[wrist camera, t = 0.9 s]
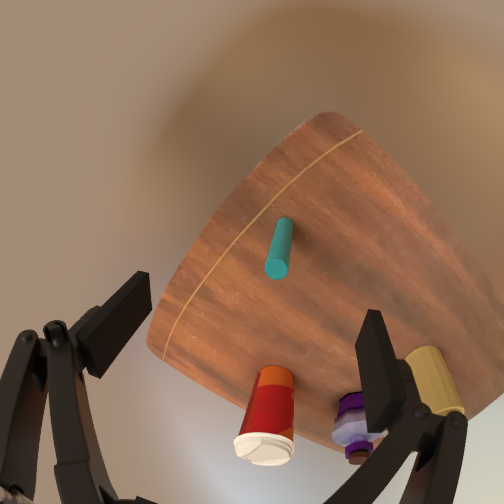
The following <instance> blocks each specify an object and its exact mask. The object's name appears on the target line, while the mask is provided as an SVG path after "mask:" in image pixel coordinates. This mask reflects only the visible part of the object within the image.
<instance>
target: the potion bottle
mask: <svg viewBox="0 0 504 504" xmlns="http://www.w3.org/2000/svg"><path fill="white" fill-rule="evenodd" d="M339 401H340V405H339V410H338V414H337V418H335V421H334V425H333V429H332V440H333V443H336V444H339V445H342V446H346V447H345V455H346V459H349V463H350V464H353V465H362V464H363V463H364V462H365V460H366V459H367V458H368V457H369V456H370V455H371V454H372V452H373V443H372V441H374V440H375V439H377V438H379V437H380V436H382V435H383V432H382V433H367V425H366V416H365V408H364V401H363V393H362V391H360V392H354V393H348V394H347V395H345V396H344V397H343V398H342V399H340V400H339Z"/></svg>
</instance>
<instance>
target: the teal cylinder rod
mask: <svg viewBox="0 0 504 504" xmlns="http://www.w3.org/2000/svg"><path fill="white" fill-rule="evenodd" d="M292 232H293V222H292V221H291V220H290V219H289V218H286V217H283V218H281V219H279V220H278V222H277V225H276V229H275V232H274V236H273V239H272V243H271V246H270V250H269V254H268V257H267V261H266V264H265V273H266V274H267V276H268V277H270V278H271V279H274V280H279V279H282V278H284V277H285V276H286V275H287V273H288V267H289V259H290V250H291V241H292Z"/></svg>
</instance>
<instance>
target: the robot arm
mask: <svg viewBox="0 0 504 504" xmlns="http://www.w3.org/2000/svg"><path fill="white" fill-rule="evenodd" d="M151 311H152V303H151V292H150V280H149V273H147V272H142V271H137V273H135V274H134V275H133V276H132V277H131V278H130V279H129V280H128V281H127V282H126V283H125V284H124V285H123V286H122V287H121V288H120V289H119V290H118V291H117V292H116V293H115V294H114V295H113V296H111V297H110V298H109V299H108V300H107V301H106V303H104V305H102V306H101V307H100V306H95V307H93V308H91V309H90V310H88V311H87V312H86V313H85V314H84V316H82V317H81V318H80V320H78V321H77V322H76V323H75V324H74V325H73V326H72V327H71V328H70V329H69V330H67V327H66V324H65V323H64V322H63V321H60V320H54V321H50V322H49V323H47V324H46V325H45V326H44V328H43V332H44V335H45V338H46V339H41V338H38V335H37V333H36V332H35V331H34V330H25V331H23V332H21V333H20V334H19V335H18V337H17V339H16V341H15V344H14V346H13V348H12V350H11V353H10V355H9V358H8V361H7V363H6V366H5V369H4V371H3V374H2V376H1V379H0V504H34V503H33V498H34V494H35V486H36V472H37V460H38V459H37V458H38V450H39V441H40V434H41V426H42V421H43V415H44V409H45V403H46V399H47V394H48V392H49V406H50V416H51V425H52V433H53V439H54V446H55V451H56V458H57V464H56V465H55V466H54V474H55V478H56V483H57V487H58V491H59V495H60V499H61V503H62V504H157V503H154V502H152V501H149V500H146V499H143V498H141V497H138V496H137V497H136V499H135V500H132V499H120V500H119V498H118V496H117V494H116V492H115V490H114V489H113V487H112V485H111V482H110V480H109V477H108V474H107V471H106V468H105V464H104V461H103V458H102V455H101V452H100V448H99V444H98V440H97V437H96V433H95V429H94V425H93V420H92V416H91V412H90V408H89V402H88V397H87V391H86V386H85V380H84V375H83V373H82V371H83V369H84V368H85V367H86V368H87V371H88V373H89V374H90V375H92V376H94V377H97V378H99V379H101V377H102V376H103V375H104V373H105V372H106V370H107V369H108V368H109V366H110V365H111V364H112V362H113V361H114V360H115V358H116V357H117V355H118V354H119V353H120V351H121V350H122V349H123V347H124V346H125V345H126V343H127V342H128V341H129V339H130V338H131V337H132V335H133V334H134V333H135V331H136V330H137V329H138V328H139V326H140V325H141V324H142V322H143V321H144V320H145V318H146V317H147V316H148V315H149V313H150V312H151ZM355 349H356V354H357V360H358V366H359V373H360V379H361V386H362V393H363V401H364V408H365V416H366V425H367V433H382V432H383V431H384V430H385V428H386V427H387V429H388V434H387V435H386V437H385V438H384V439H383V440H382V441H381V443H380V444H379V445H378V446H377V448H376V449H375V450H374V451H373V452H372V454H371V455H370V456H369V457H368V458H367V459H366V460H365V462H364V463H363V464H362V465H361V466H360V467H359V468H358V469H357V470H356V472H355V473H354V474H353V475H352V476H351V477H350V478H349V479H348V480H347V481H346V482H345V483H344V484H343V485H342V486H341V487H340V488H339V489H338V490H337V491H336V492H335V493H334V494H333V495H332V496H331V497H330V498H329V499H327V500H326V502H324V503H323V504H372V503H373V502H374V501H375V499H376V498H377V497H378V496H379V495H380V493H381V492H382V491H383V490H384V488H385V487H386V486H387V485H388V483H389V482H390V480H391V479H392V478H393V477H394V475H395V474H396V473H397V471H398V470H399V469H400V467H401V466H402V464H403V463H404V461H405V460H406V459H407V457H408V456H409V454H410V453H411V451H416V452H418V454H417V457H416V460H415V463H414V466H413V469H412V472H411V475H410V477H409V480H408V483H407V485H406V488H405V490H404V493H403V495H402V498H401V500H400V503H399V504H453V500H454V496H455V493H456V488H457V485H458V480H459V476H460V471H461V466H462V461H463V454H464V449H465V443H466V436H467V427H468V421H467V418H466V416H465V415H464V414H463V413H461V412H459V411H451V412H449V413H448V414H447V415H446V416H441V415H437V414H434V413H432V411H431V409H430V407H429V406H428V405H426V404H425V403H423V402H422V401H421V398H420V394H419V391H418V388H417V385H416V382H415V378H414V376H413V372H412V369H411V366H410V365H409V364H408V363H407V362H406V360H400V359H396V357H395V354H394V350H393V347H392V344H391V341H390V338H389V335H388V332H387V329H386V326H385V323H384V320H383V317H382V315H381V312H380V311H379V310H371V309H368V311H367V314H366V317H365V320H364V322H363V325H362V328H361V330H360V333H359V336H358V338H357V341H356V344H355Z"/></svg>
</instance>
